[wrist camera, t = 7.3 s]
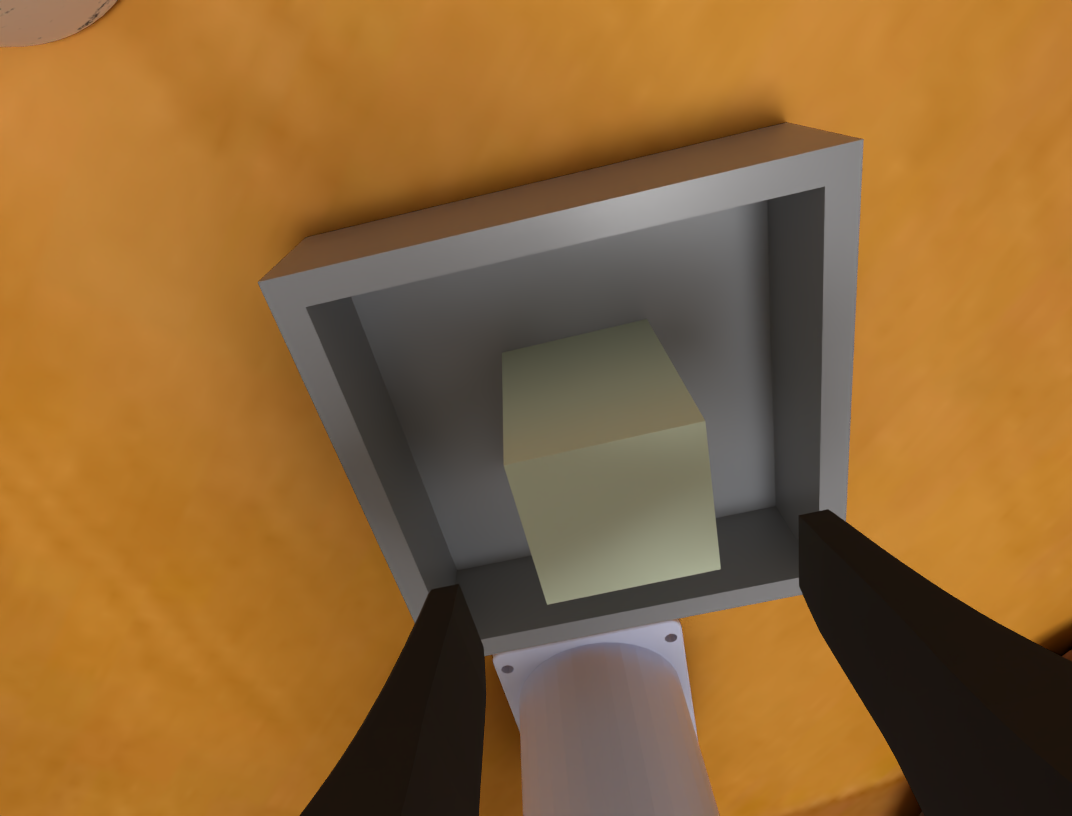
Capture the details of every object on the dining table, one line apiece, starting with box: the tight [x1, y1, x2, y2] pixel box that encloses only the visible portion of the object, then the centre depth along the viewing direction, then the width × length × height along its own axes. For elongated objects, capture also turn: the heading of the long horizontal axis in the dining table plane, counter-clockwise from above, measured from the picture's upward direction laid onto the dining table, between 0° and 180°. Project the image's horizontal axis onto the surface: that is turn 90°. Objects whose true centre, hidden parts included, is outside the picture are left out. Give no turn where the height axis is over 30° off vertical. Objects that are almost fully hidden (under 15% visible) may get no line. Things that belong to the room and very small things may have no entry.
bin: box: [258, 122, 863, 656], centre depth 19 cm, size 14×14×4 cm
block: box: [502, 319, 721, 605], centre depth 17 cm, size 4×4×6 cm
